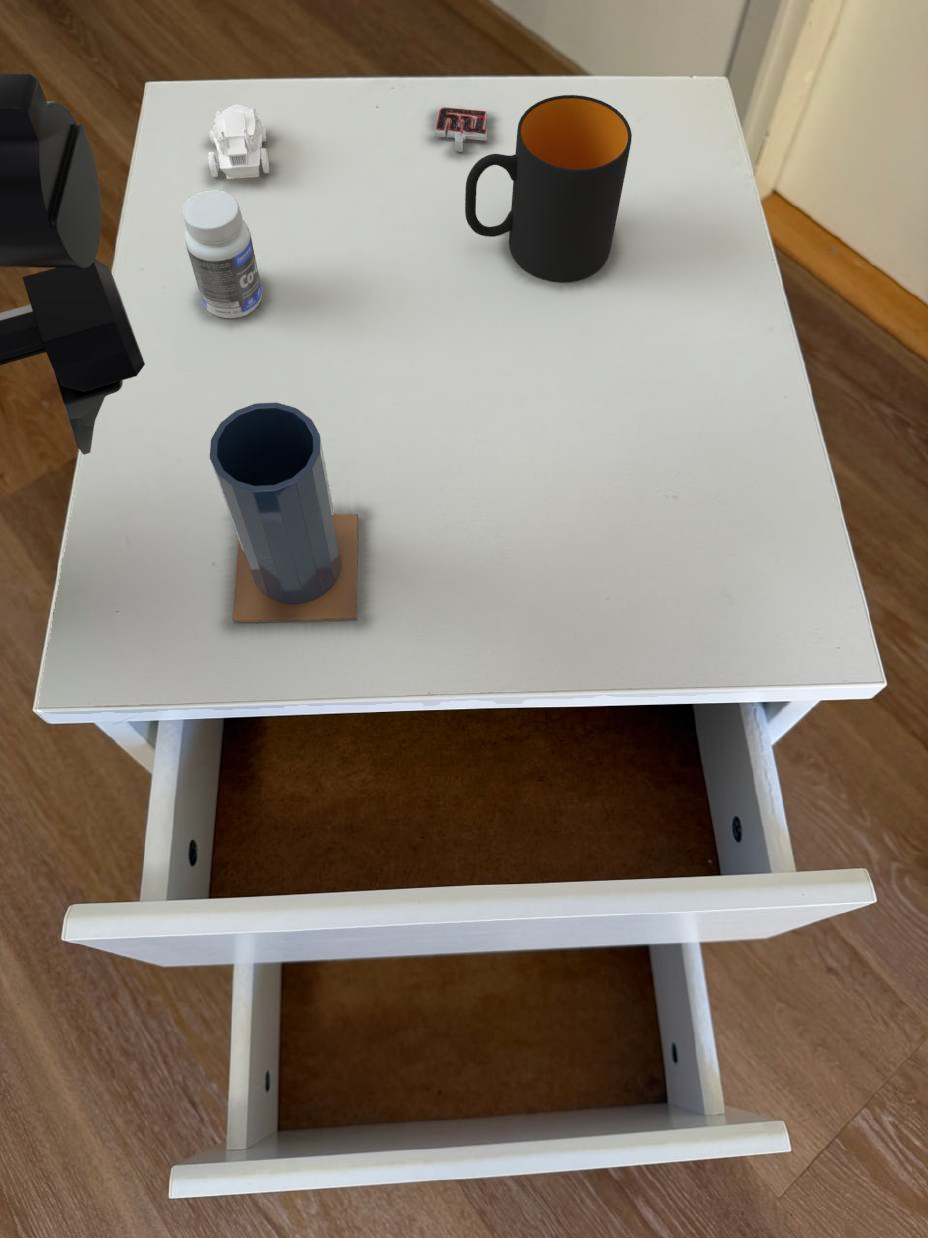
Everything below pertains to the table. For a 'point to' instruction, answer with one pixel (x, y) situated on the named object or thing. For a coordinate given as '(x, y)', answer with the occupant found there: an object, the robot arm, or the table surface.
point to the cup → (279, 500)
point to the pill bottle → (221, 254)
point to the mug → (561, 187)
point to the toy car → (238, 143)
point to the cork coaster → (325, 608)
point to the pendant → (464, 120)
